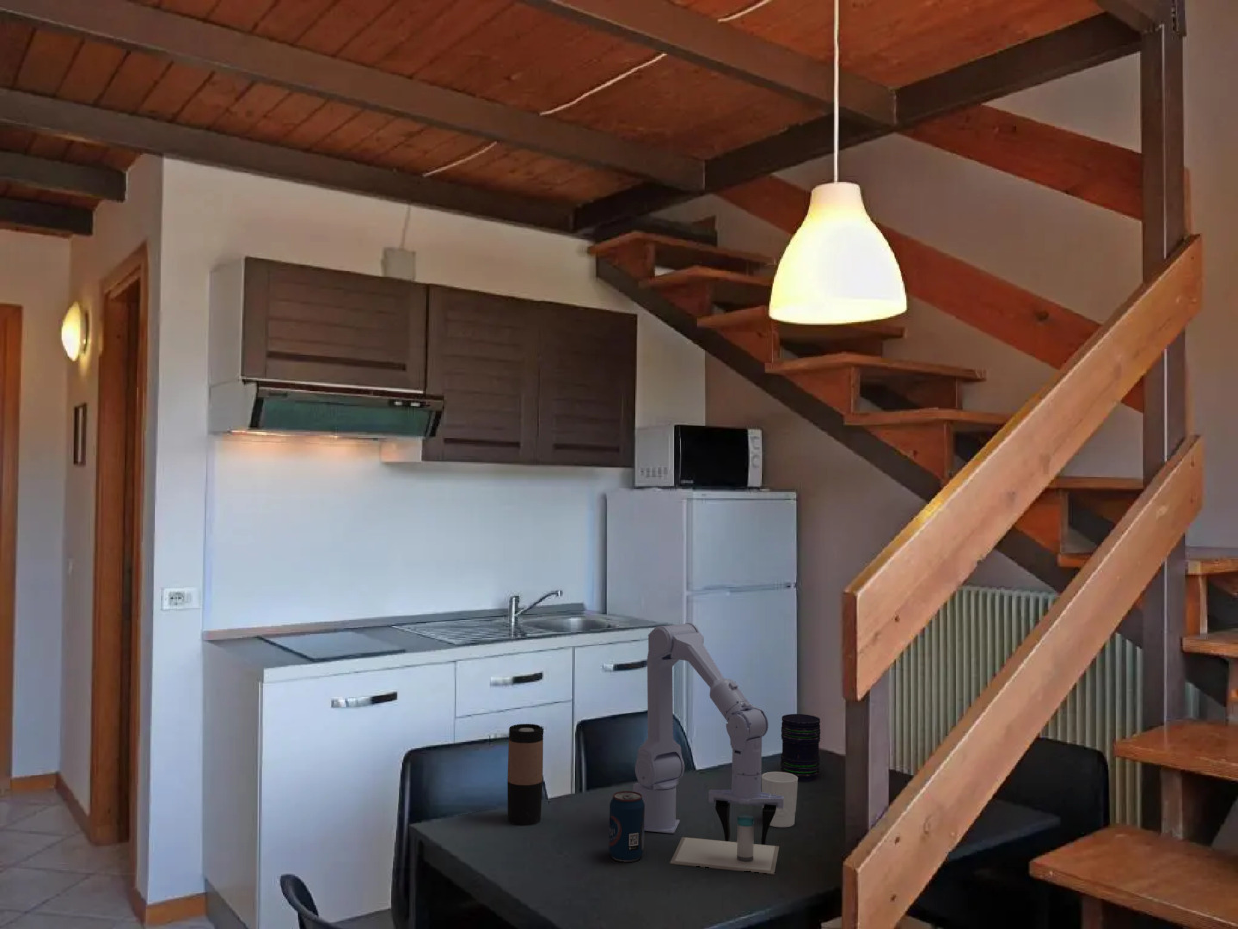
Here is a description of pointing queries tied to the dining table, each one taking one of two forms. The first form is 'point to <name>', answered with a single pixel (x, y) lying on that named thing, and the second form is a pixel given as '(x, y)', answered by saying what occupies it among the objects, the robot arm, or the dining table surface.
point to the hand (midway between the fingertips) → (745, 841)
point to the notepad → (724, 855)
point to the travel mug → (525, 774)
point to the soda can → (626, 826)
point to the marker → (745, 838)
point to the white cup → (784, 787)
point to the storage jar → (801, 746)
